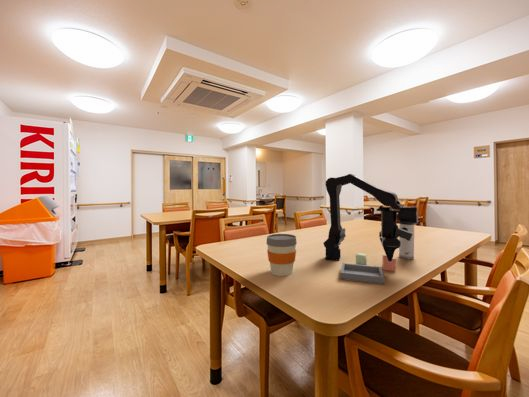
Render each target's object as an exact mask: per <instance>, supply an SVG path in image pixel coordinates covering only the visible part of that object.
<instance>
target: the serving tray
mask: <svg viewBox="0 0 529 397" xmlns="http://www.w3.org/2000/svg"><path fill="white" fill-rule="evenodd" d="M340 280H343V281H345V280H346V281H351V282H352V281H353V282H360V283H369V284H377V285H385V275H384V270H383V267H382V266H377V265H367V264H366V265H358V264H356V263H346V262H342V264H341V269H340Z"/></svg>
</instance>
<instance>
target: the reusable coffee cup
mask: <svg viewBox="0 0 529 397" xmlns="http://www.w3.org/2000/svg"><path fill="white" fill-rule="evenodd" d="M266 245H267V249H266V250H267V251H266V252H267V258H268V262H269V266H270V267H269V268H270V271H271V274H272V275H273V276H277V277H286V276H287V277H288V276H290V275H292V274H293V271H294V263H295V261H296V253H297V249H296V247H297V236H296V235H294V234H290V233H273V234H269V235H267V236H266Z"/></svg>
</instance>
